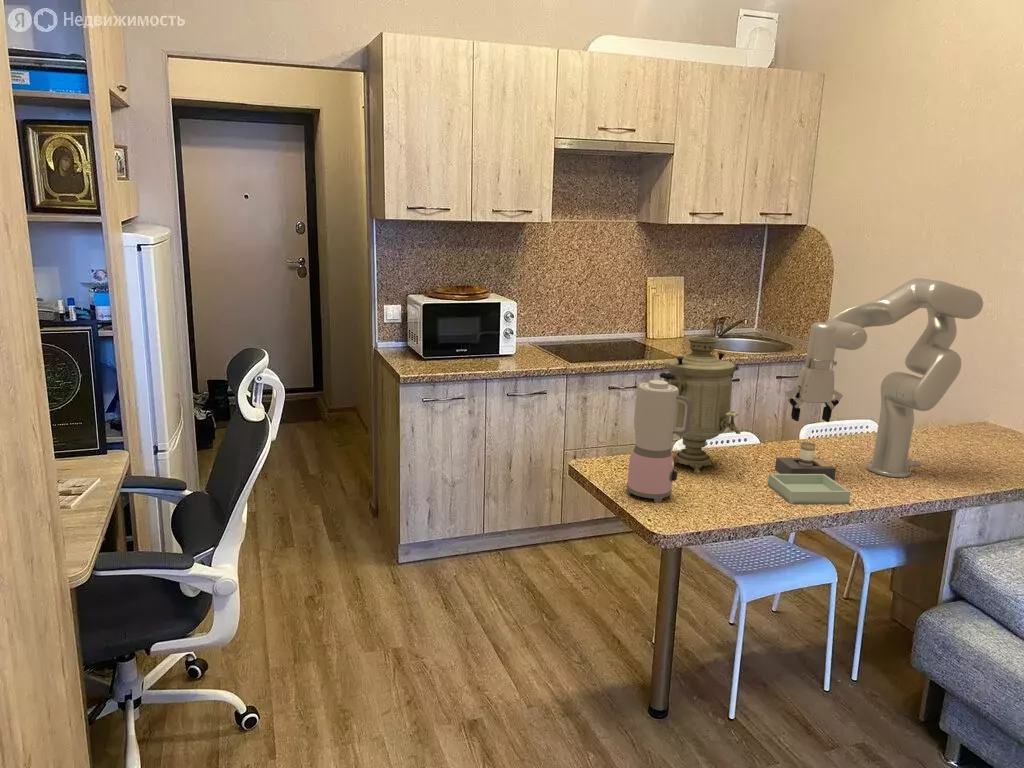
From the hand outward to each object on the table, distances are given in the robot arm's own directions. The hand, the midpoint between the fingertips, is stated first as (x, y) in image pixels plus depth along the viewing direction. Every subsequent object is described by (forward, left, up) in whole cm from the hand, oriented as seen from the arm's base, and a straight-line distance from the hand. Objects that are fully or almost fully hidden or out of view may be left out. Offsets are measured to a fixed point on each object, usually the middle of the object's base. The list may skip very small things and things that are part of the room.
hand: (810, 420), depth 220 cm
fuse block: (0, 0, -18) cm, 18 cm away
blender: (+52, +16, -18) cm, 57 cm away
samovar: (+32, -6, -18) cm, 37 cm away
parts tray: (+7, +15, -18) cm, 24 cm away
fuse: (0, 0, -18) cm, 18 cm away
